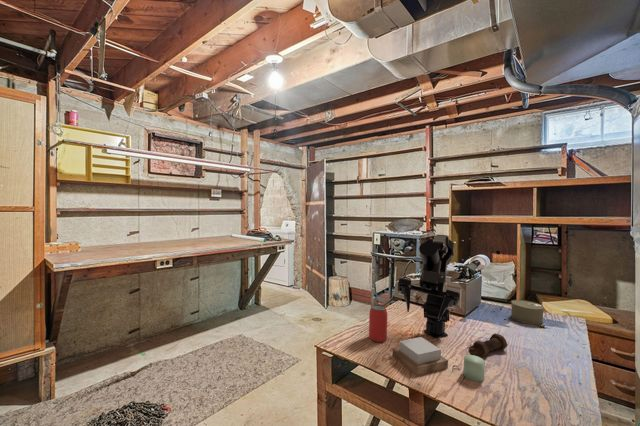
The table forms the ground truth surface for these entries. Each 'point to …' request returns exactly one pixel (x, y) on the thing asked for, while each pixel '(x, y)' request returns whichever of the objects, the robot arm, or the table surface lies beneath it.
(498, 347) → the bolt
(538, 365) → the table surface
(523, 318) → the can
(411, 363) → the walnut base slab
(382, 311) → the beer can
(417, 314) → the table surface
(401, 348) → the grey top slab
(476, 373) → the green cylinder
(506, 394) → the table surface
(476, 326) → the table surface
